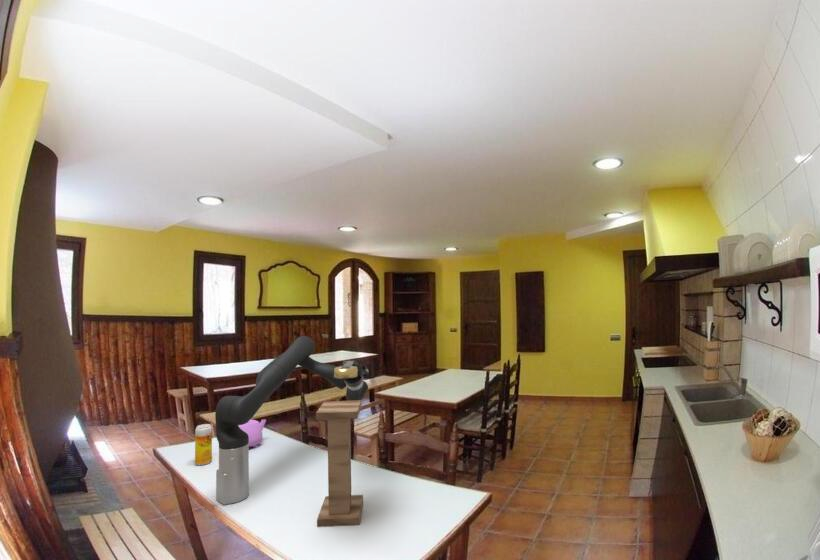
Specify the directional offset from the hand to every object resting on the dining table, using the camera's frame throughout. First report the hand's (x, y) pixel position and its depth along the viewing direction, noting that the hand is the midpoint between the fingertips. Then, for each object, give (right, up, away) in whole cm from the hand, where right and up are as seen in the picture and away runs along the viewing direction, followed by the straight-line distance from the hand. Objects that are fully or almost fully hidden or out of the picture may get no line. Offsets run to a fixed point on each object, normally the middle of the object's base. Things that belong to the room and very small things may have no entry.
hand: (349, 362), depth 153 cm
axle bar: (0, -3, -5) cm, 5 cm away
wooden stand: (+2, -40, -30) cm, 50 cm away
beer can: (-62, -44, +13) cm, 77 cm away
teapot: (-52, -45, +31) cm, 75 cm away
